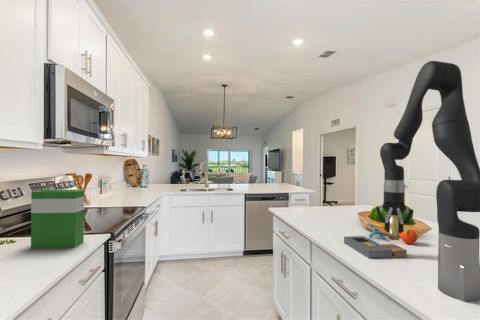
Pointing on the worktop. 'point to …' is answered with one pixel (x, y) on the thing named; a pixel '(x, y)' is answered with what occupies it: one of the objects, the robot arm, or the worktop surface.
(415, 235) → the tomato
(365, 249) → the flange plate
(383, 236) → the gear
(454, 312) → the worktop surface
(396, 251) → the brown rectangular block
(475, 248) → the robot arm
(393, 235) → the brass peg
